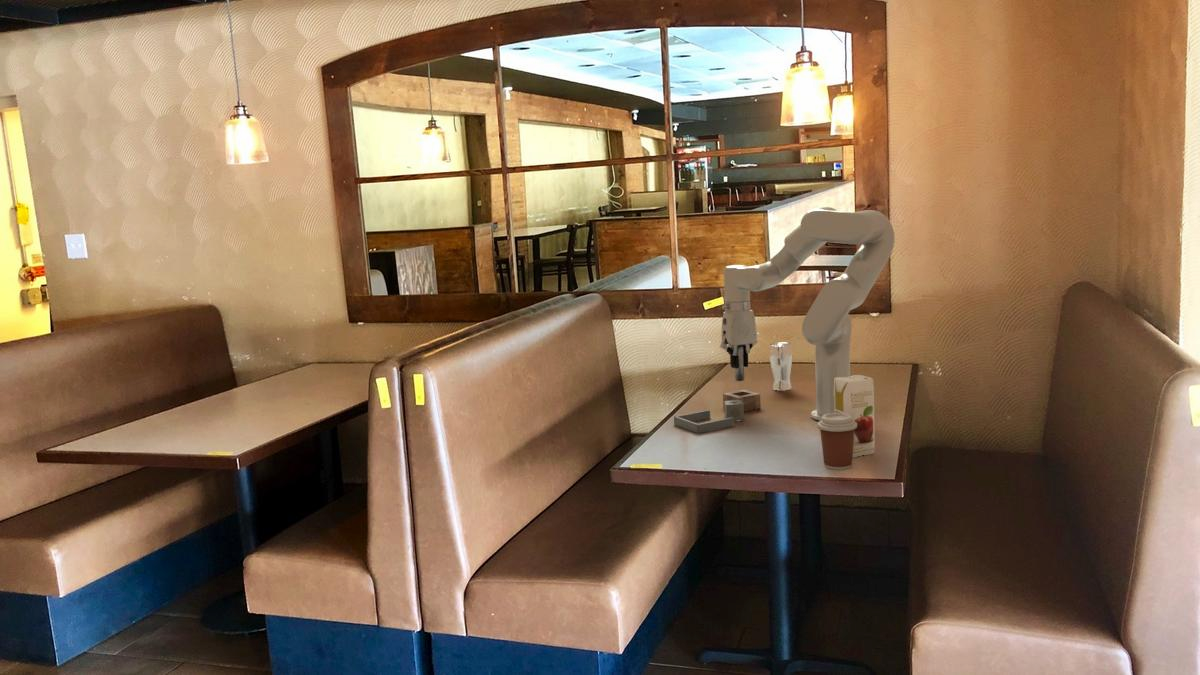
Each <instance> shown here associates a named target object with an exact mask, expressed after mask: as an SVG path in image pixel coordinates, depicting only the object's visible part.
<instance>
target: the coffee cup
mask: <svg viewBox="0 0 1200 675" xmlns="http://www.w3.org/2000/svg"><path fill="white" fill-rule="evenodd" d="M816 426H817V429H818V430H819V431H820V439H821V447H822V455H823V457H822V458H823V466H824V467H825V468H826V467H827V468H826V469H828V468H829V470H833V469H835V470H834V471H839V470H840V471H843V469H844V470H849V469H851V468H852V467H853V458H852V456H853V441H854V429H856V428H857V423H856V422H855V421H854V420H853V419H852V416H851V415H849V414H845V413H829V414H825V415H823V416H822V420H821V421H819V420H818V422H817V424H816Z"/></svg>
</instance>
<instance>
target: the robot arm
mask: <svg viewBox="0 0 1200 675" xmlns="http://www.w3.org/2000/svg"><path fill="white" fill-rule="evenodd" d="M894 230H895V229H894V228H893V225H892V223H891V221H890V220H889V218H888V217H887V216H886V215H885V214H884V213H882V211H881V212H880V211H878V210H874V209H868V210H867V209H866V210H861V211H842V210H836V208H833V207H830V206H825V207H824V206H823V207H816V208H815V207H814V208H812V209H810V210H808V211H806V213H805V214H804V215H803V216H802V218H801V220H800V224H799V225H798V226H797V227H796V228H795V229H794V230H793V231H791V232H790V233H789V234H787V235H786V237H784V241H783V242H784V245H783V247H782V248H781V249H780V250H779V251H778V253H776V254H775V255H773V257H772V258H771V257H770V259H769V260H768V261H766V262H764V263H760V264H756V265H752V266H751V265H750V266H748V265H745V264H732V265H727V266H725V267H724V269H723V289H724V290H723V293H724V304H722V305H721V308H722V310H724V311H723V314H722V321H721V343H720V345H719V348H720V349H722V350H724V351H726V352H727V353H728V354H727V355H729V356H730V358H729V360H730V361H729V362H730V368H733V369H735V368H736V369H737V368H739V357H738V355H737V346H738V345H743V347H744V368H748V367H749V354H750V351H751V350H752V348H753V347H754V346H755V345H756V344H758V340H757V339H758V338H757V337H758V336H757V325H756V318H755V314H754V311H753V309H751V292H760V291H764V290H767V289H771V288H774V287H777V286H778V285H779V284H781V283H782V282H783V281H785V280H786V279H787V278H788V277H789V276H791V275H792V274H794V273H795V272H796V271H797V269H799V267H801V266H802V264H803V263H804V262H805V261H806V260H807V259H808V258H809V257H811V256H812V255H813V254H815V252H817V251H818V250H820V249H821V248H822V247H823V246H824V245H825V244H827V243H835V244H843V245H844V244H847V245H860V246H859V248H858V249H857V251H856V252H855V253H854V255H853V256H852V257H851V260H850V261H849V263H848V265H847V267H846V268H845V270H844V271H843V273H842V274H841V275H840V276H837V277H835V278H832V279H830V280H829V281H827V282H826V284H824V285H823V287H822V288H821V289H820V291H819V292H818V294H817V296H816V298H815V300H814V301H813V303H812V305H811V306H810V308H809V309H808V311H807V313H806V315H805V317H804V319H803V321H802V325H801V331H802V335H803V337H804V339H805V340H806V342H808V343H809V344H810V345H814V346H815V348H814V350H815V352H814V365H815V367H814V373H815V399H816V400H815V406H816V407H815V408H816V409H814V410H812V411H811V412H810V416H811V418H812V419H814V420H816V421H818V422H819V421H821V420H822V416H823V415H825V414H829V413H834V378H839V377H849V376H851V351H850V350H851V340H852V339H851V338H852V337H851V336H852V327H853V326H852V319H851V316H850V314H849V313H850V311H851V310H854V309H857V308H858V307H860V306H861V305H863V303H864V302H865V300H866V299H867V297H868V296H869V293H870V291H871V290H872V288H873V286H874V285H875V283H876V281H877V280H878V278H879V277H880V274H881V273H882V272H883V269H884V268H885V266H886V264H887V263H888V261H889V259H890V257H891V255H892V253H893V249H894V246H895V245H894V244H895V232H894Z"/></svg>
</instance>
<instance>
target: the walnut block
mask: <svg viewBox="0 0 1200 675" xmlns="http://www.w3.org/2000/svg"><path fill="white" fill-rule="evenodd" d="M735 400H742V402H743V404H744V411H745V412H749V410H750V411H754V410H753V409H755V410H759V409H758V408H760V409H761V408H762V407H761V393H759V392H754V391H751V390H747V389H741V390H740V389H739V390H735V391H730V392H725V393H722V405H723V406H722V408H723V409H725V403H724V401H735Z"/></svg>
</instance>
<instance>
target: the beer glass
mask: <svg viewBox="0 0 1200 675" xmlns="http://www.w3.org/2000/svg"><path fill="white" fill-rule="evenodd" d="M769 345H770V346H769V347H770V348H769V349H770V350H769V360H770V362H769V363H770V367H771V371H772V376H773V377H772V378H773V384H772V390H773V391H775V390H777V391H776V392H787V391H786V390H789V391H791V390H792V384H791V371H792V370H791V369H792V364H793V362H792V361H793V356H792V354H793V353H792V352H793V351H792V347H791V346H792V344H791V343H790V342H774V343H773V342H772V343H770V344H769ZM790 389H791V390H790Z"/></svg>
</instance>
